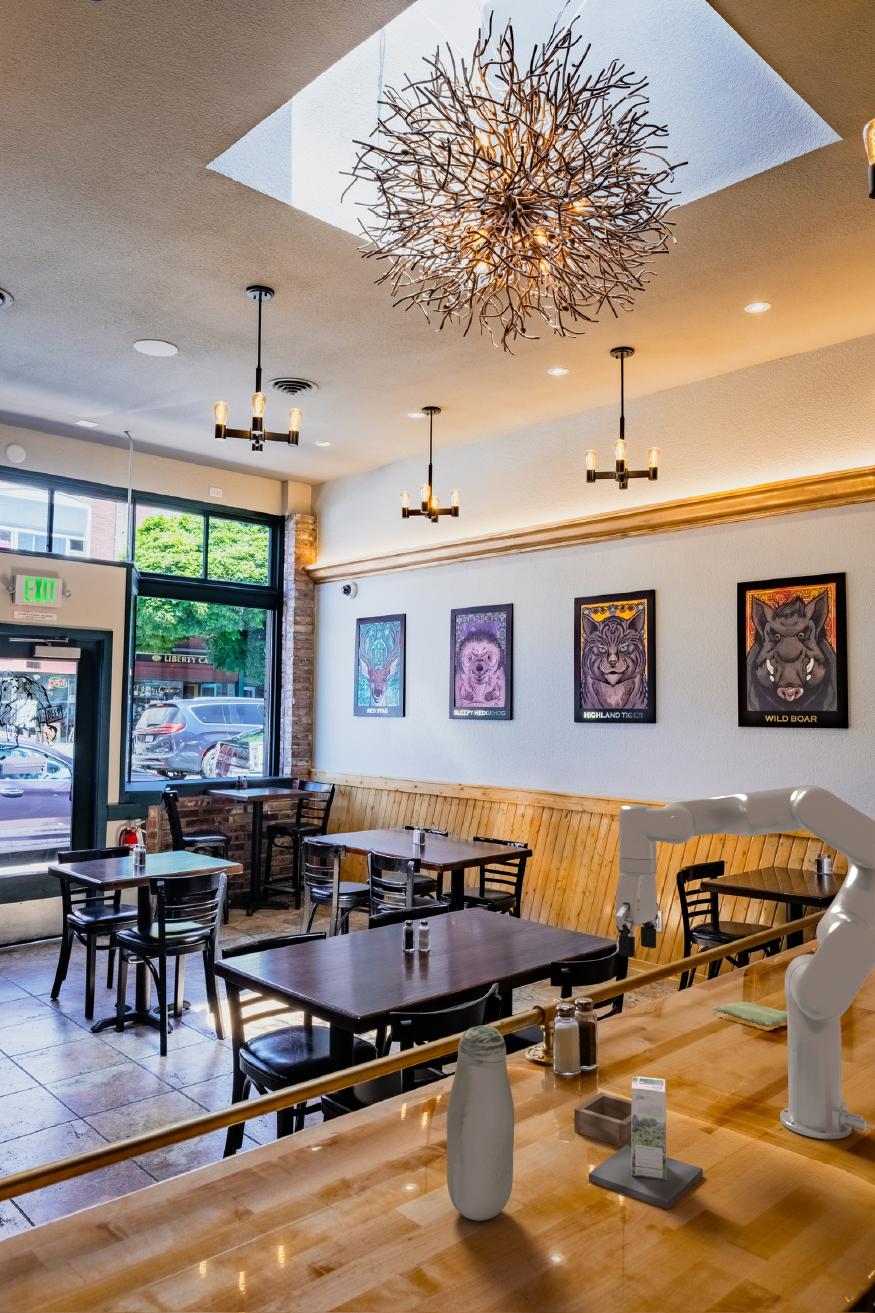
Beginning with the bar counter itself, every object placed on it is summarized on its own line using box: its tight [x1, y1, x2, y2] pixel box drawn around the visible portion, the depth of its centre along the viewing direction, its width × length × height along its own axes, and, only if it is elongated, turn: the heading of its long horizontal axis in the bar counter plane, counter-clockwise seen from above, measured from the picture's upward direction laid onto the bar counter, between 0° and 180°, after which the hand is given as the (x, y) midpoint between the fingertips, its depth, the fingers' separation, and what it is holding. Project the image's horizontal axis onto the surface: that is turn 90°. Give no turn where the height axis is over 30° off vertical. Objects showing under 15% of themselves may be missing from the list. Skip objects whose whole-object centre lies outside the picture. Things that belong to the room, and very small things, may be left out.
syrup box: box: [631, 1075, 667, 1180], centre depth 152 cm, size 6×6×14 cm
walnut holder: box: [573, 1091, 632, 1148], centre depth 170 cm, size 10×10×4 cm
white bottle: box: [446, 1024, 515, 1222], centre depth 141 cm, size 10×10×28 cm
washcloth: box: [712, 1001, 787, 1027], centre depth 236 cm, size 13×18×3 cm
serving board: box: [588, 1144, 704, 1210], centre depth 152 cm, size 14×14×1 cm
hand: (638, 951), depth 183 cm, fingers open, 9 cm apart
